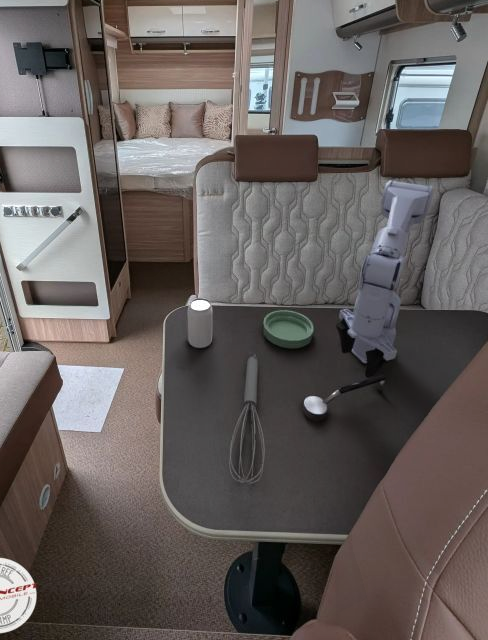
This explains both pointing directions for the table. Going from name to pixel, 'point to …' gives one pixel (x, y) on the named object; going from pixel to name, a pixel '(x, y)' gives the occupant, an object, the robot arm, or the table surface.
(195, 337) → the can
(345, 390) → the ladle
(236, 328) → the table surface
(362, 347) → the robot arm
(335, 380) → the table surface
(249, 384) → the kitchen whisk
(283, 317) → the bowl
